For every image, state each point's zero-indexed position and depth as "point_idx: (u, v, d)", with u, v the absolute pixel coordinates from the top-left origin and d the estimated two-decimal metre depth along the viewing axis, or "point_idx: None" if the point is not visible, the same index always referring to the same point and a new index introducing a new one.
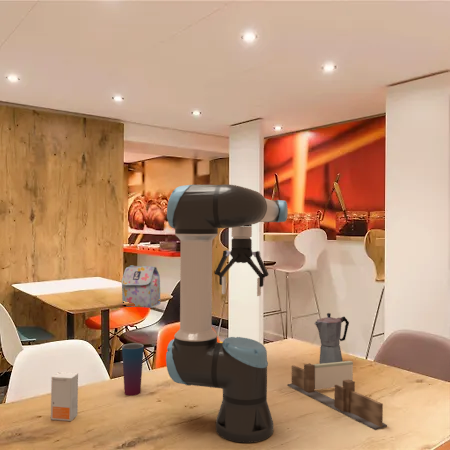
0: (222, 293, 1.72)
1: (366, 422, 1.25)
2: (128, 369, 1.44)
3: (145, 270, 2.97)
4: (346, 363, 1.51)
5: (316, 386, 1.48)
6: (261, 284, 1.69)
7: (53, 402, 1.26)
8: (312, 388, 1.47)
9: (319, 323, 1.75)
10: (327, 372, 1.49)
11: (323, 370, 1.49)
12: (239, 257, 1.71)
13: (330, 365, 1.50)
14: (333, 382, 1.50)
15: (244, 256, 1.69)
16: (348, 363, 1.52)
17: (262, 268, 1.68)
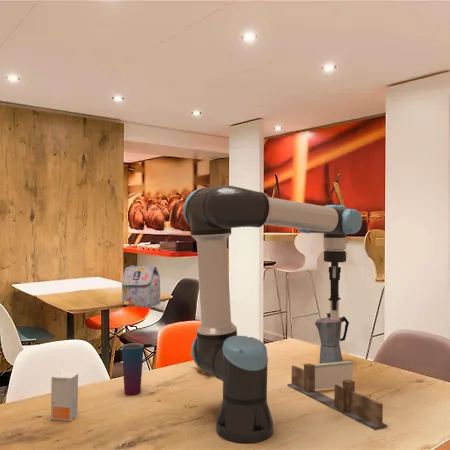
0: None
1: (366, 422, 1.25)
2: (128, 369, 1.44)
3: (145, 270, 2.97)
4: (346, 363, 1.51)
5: (316, 386, 1.48)
6: (332, 307, 1.55)
7: (53, 402, 1.26)
8: (312, 388, 1.47)
9: (319, 323, 1.75)
10: (327, 372, 1.49)
11: (323, 370, 1.49)
12: None
13: (330, 365, 1.50)
14: (333, 382, 1.50)
15: None
16: (348, 363, 1.52)
17: None
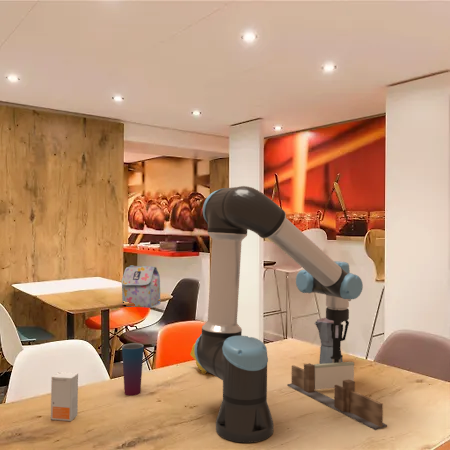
0: None
1: (366, 422, 1.25)
2: (128, 369, 1.44)
3: (145, 270, 2.97)
4: (347, 364, 1.51)
5: (316, 386, 1.48)
6: None
7: (53, 402, 1.26)
8: (312, 388, 1.47)
9: (319, 323, 1.75)
10: (327, 372, 1.49)
11: (323, 370, 1.49)
12: None
13: (330, 365, 1.49)
14: (333, 383, 1.50)
15: (331, 328, 1.53)
16: (349, 364, 1.51)
17: None
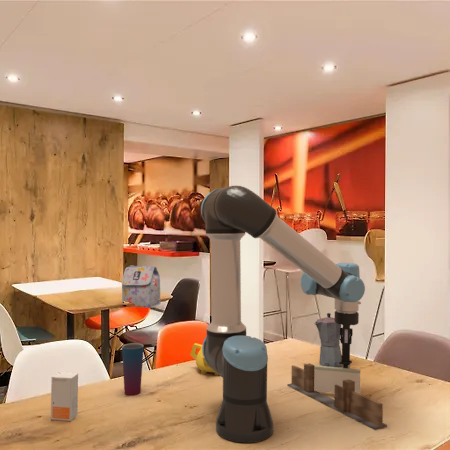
0: None
1: (366, 422, 1.25)
2: (128, 369, 1.44)
3: (145, 270, 2.97)
4: (352, 371, 1.43)
5: (316, 387, 1.47)
6: None
7: (53, 402, 1.26)
8: (312, 388, 1.47)
9: (319, 323, 1.75)
10: (328, 376, 1.46)
11: (324, 373, 1.46)
12: None
13: (332, 369, 1.45)
14: None
15: (340, 332, 1.47)
16: (354, 371, 1.43)
17: None
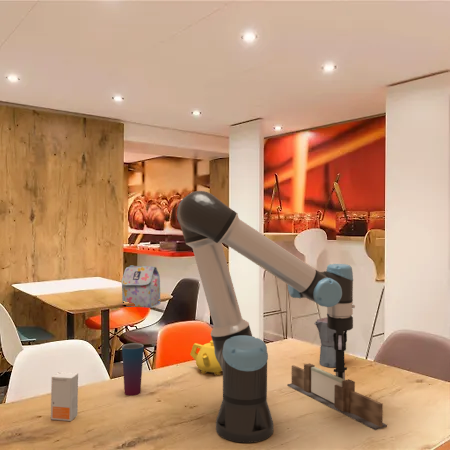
0: None
1: (366, 422, 1.25)
2: (128, 369, 1.44)
3: (145, 270, 2.97)
4: (336, 379, 1.36)
5: (312, 388, 1.46)
6: None
7: (53, 402, 1.26)
8: None
9: (319, 323, 1.75)
10: (320, 379, 1.42)
11: (317, 375, 1.43)
12: None
13: (322, 373, 1.41)
14: (325, 393, 1.40)
15: None
16: (337, 380, 1.35)
17: None
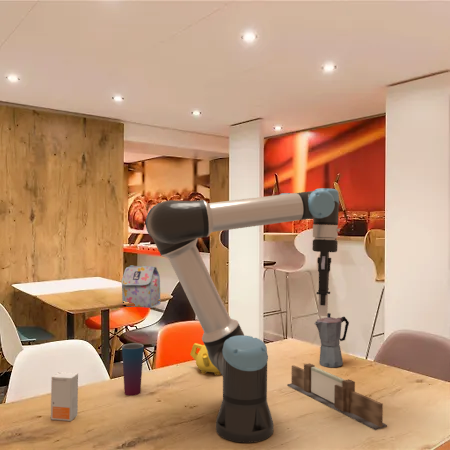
0: None
1: (366, 422, 1.25)
2: (128, 369, 1.44)
3: (145, 270, 2.97)
4: (336, 379, 1.36)
5: (312, 388, 1.46)
6: None
7: (53, 402, 1.26)
8: None
9: (319, 323, 1.75)
10: (320, 379, 1.42)
11: (317, 375, 1.43)
12: None
13: (322, 373, 1.41)
14: (325, 393, 1.40)
15: None
16: (337, 380, 1.35)
17: None
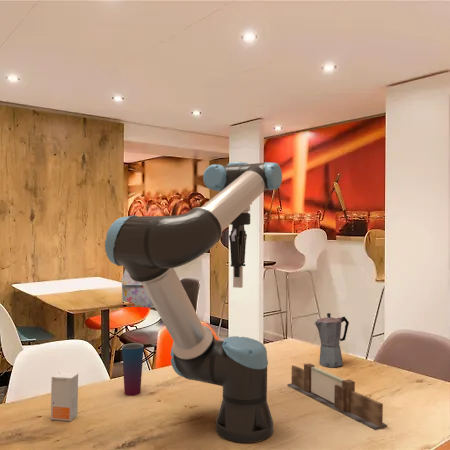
0: None
1: (366, 422, 1.25)
2: (128, 369, 1.44)
3: None
4: (336, 379, 1.36)
5: (312, 388, 1.46)
6: None
7: (53, 402, 1.26)
8: None
9: (319, 323, 1.75)
10: (320, 379, 1.42)
11: (317, 375, 1.43)
12: None
13: (322, 373, 1.41)
14: (325, 393, 1.40)
15: None
16: (337, 380, 1.35)
17: None
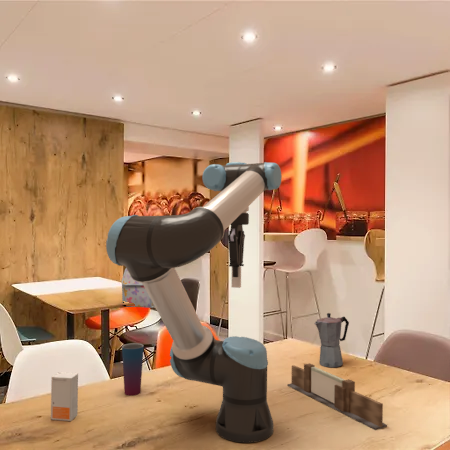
0: None
1: (366, 422, 1.25)
2: (128, 369, 1.44)
3: None
4: (336, 379, 1.36)
5: (312, 388, 1.46)
6: None
7: (53, 402, 1.26)
8: None
9: (319, 323, 1.75)
10: (320, 379, 1.42)
11: (317, 375, 1.43)
12: None
13: (322, 373, 1.41)
14: (325, 393, 1.40)
15: None
16: (337, 380, 1.35)
17: None
